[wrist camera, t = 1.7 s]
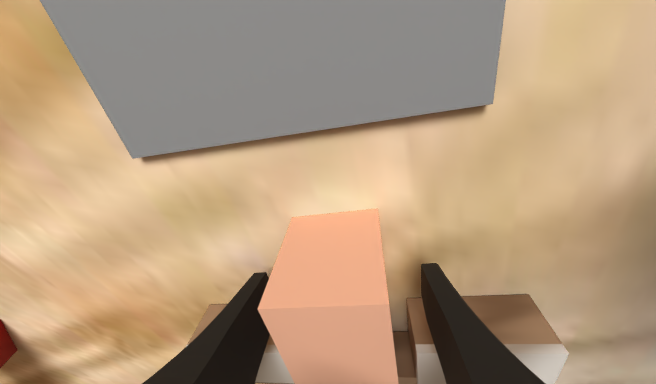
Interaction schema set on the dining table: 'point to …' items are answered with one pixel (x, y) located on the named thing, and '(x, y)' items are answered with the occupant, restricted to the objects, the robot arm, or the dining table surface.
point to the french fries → (5, 345)
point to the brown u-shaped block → (419, 350)
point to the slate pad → (276, 64)
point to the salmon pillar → (332, 301)
